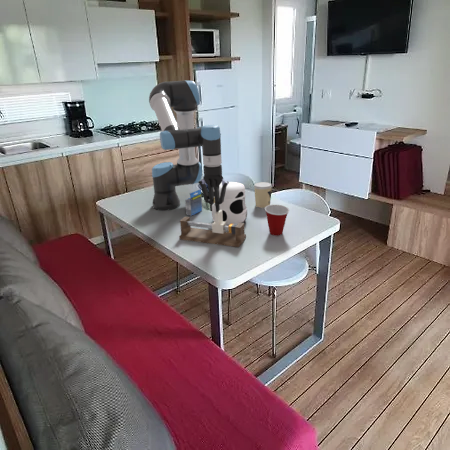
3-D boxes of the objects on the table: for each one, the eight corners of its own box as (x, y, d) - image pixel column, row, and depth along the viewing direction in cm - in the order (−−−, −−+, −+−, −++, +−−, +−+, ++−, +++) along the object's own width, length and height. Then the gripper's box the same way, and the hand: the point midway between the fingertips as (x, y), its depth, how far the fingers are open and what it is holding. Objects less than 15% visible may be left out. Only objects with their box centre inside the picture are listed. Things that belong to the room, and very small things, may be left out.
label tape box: (196, 209, 196) (195, 187, 191) (202, 210, 193) (201, 188, 188) (186, 214, 189) (184, 192, 184) (192, 216, 187) (190, 193, 182)
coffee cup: (272, 208, 192) (272, 186, 187) (254, 209, 192) (254, 187, 188) (270, 202, 201) (270, 181, 196) (253, 202, 201) (253, 182, 196)
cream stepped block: (212, 232, 158) (210, 213, 154) (216, 228, 162) (215, 209, 158) (222, 234, 156) (221, 214, 153) (226, 229, 160) (226, 210, 157)
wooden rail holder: (179, 239, 162) (177, 222, 159) (188, 230, 171) (187, 214, 168) (239, 247, 153) (238, 230, 150) (246, 237, 161) (246, 220, 158)
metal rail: (183, 228, 163) (183, 220, 162) (187, 225, 166) (186, 217, 165) (238, 234, 154) (238, 227, 153) (241, 231, 157) (241, 223, 156)
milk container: (207, 218, 183) (205, 184, 176) (238, 212, 189) (237, 179, 182) (220, 231, 168) (218, 194, 161) (253, 224, 174) (253, 188, 167)
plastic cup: (282, 240, 157) (283, 214, 153) (260, 235, 163) (260, 210, 158) (292, 230, 166) (293, 206, 161) (270, 226, 171) (271, 202, 166)
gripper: (194, 166, 147) (198, 219, 156) (224, 167, 142) (226, 223, 152) (201, 161, 153) (205, 213, 163) (230, 163, 149) (232, 216, 158)
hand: (215, 218), depth 157 cm, fingers closed
